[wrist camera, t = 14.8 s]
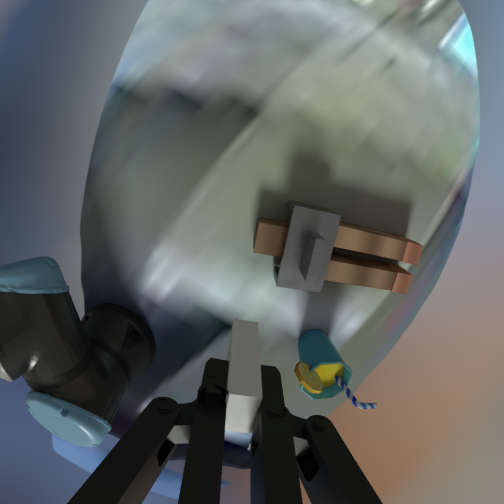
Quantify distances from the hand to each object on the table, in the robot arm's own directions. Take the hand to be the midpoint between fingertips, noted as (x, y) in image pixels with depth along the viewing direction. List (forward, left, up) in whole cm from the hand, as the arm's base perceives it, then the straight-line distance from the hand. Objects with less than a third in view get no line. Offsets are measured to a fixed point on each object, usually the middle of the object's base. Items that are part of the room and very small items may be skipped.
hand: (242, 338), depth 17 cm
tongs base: (+13, +1, -24) cm, 28 cm away
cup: (+15, -15, -25) cm, 32 cm away
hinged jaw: (+16, +4, -24) cm, 29 cm away
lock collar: (+7, +2, -24) cm, 25 cm away
